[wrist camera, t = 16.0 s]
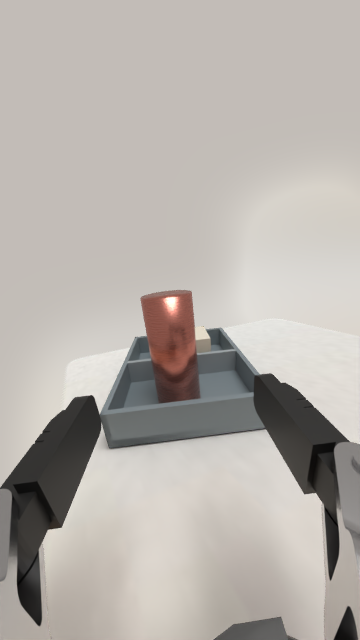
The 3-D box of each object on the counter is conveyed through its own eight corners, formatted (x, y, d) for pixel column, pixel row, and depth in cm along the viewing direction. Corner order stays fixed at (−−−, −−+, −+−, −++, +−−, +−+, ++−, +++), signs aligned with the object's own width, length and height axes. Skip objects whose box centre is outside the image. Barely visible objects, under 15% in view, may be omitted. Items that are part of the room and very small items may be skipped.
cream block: (205, 349, 36) (203, 326, 35) (211, 364, 31) (210, 338, 29) (156, 354, 36) (152, 331, 35) (153, 371, 30) (149, 345, 29)
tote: (221, 346, 39) (221, 327, 37) (272, 427, 20) (275, 393, 18) (138, 356, 38) (135, 337, 37) (109, 448, 19) (99, 415, 18)
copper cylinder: (197, 382, 26) (188, 288, 22) (204, 412, 21) (195, 295, 17) (159, 387, 26) (143, 293, 22) (157, 419, 21) (136, 302, 17)
